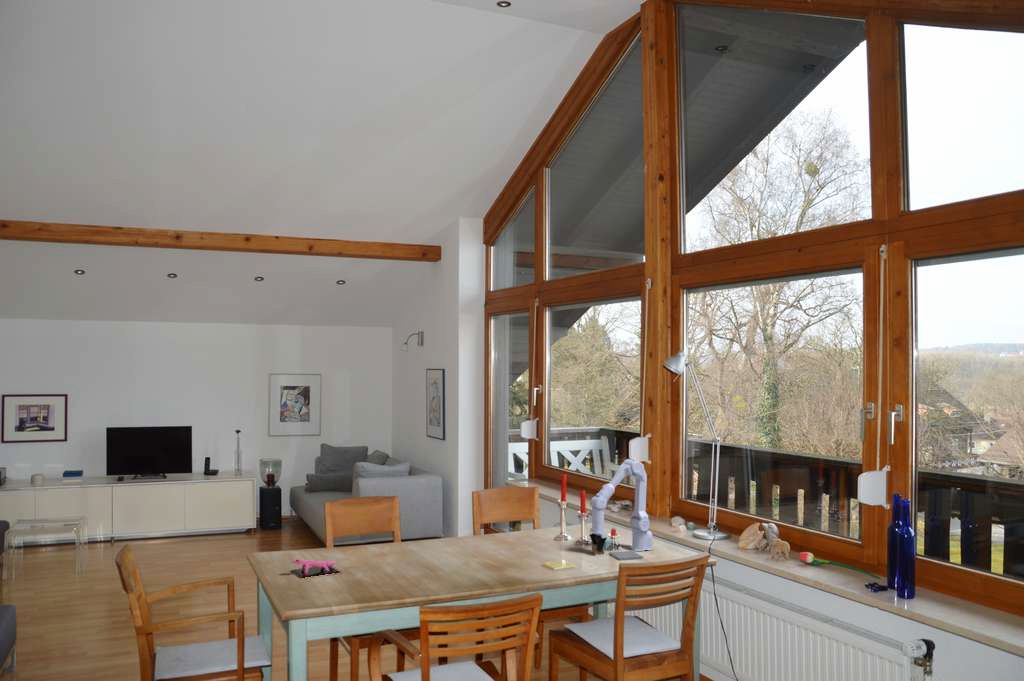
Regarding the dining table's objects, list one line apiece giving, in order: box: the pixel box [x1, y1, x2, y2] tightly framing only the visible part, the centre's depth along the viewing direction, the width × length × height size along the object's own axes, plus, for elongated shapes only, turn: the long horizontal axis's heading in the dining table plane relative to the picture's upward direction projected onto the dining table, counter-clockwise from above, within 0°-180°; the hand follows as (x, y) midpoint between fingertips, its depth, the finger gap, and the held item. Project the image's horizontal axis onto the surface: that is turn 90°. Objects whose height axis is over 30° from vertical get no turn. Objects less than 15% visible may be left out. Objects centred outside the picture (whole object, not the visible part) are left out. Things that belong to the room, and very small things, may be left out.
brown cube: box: [591, 544, 605, 555], centre depth 396 cm, size 4×4×4 cm
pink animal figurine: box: [290, 557, 342, 579], centre depth 357 cm, size 15×20×7 cm
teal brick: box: [604, 538, 616, 550], centre depth 406 cm, size 4×4×4 cm
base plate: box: [608, 550, 644, 561], centre depth 389 cm, size 12×12×1 cm
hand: (597, 550), depth 396 cm, fingers closed on brown cube, 4 cm apart
